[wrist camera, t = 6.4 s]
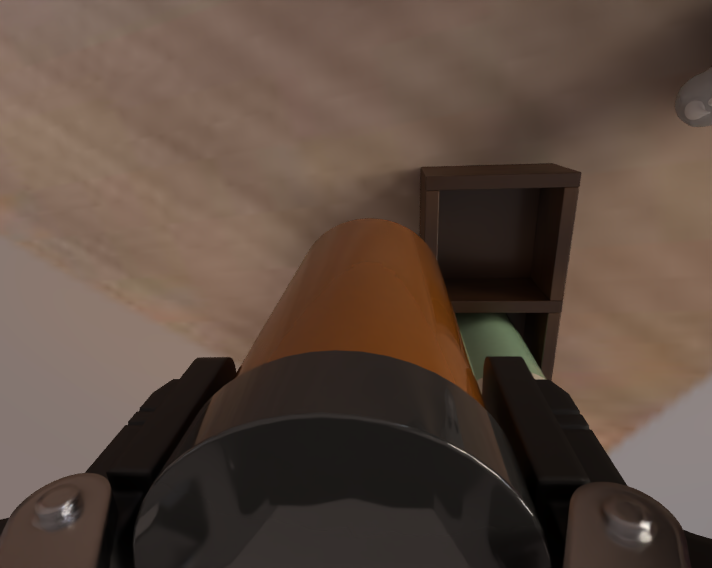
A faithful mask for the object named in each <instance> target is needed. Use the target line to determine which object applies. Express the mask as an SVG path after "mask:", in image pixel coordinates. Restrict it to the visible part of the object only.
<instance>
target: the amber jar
mask: <svg viewBox="0 0 712 568" xmlns="http://www.w3.org/2000/svg"><path fill="white" fill-rule="evenodd" d="M132 553H133V565H134V568H553V563H552V555H551V551H550V548H549V545H548V542H547V539H546V536H545V533H544V530H543V527H542V525H541V522H540V519H539V516H538V514H537V511H536V508H535V506H534V503H533V500H532V498H531V495H530V492H529V490H528V487H527V484H526V481H525V479H524V476H523V473H522V471H521V468H520V465H519V463H518V460H517V457H516V455H515V452H514V450H513V448H512V446H511V444H510V442H509V440H508V438H507V436H506V435H505V433H504V431H503V430H502V429H501V427H500V426H499V425H498V423H497V422H496V421H495V419H494V418H493V417H492V415H491V414H490V413H489V412H488V411H487V409H486V406H485V403H484V400H483V397H482V394H481V391H480V388H479V385H478V382H477V379H476V376H475V373H474V370H473V367H472V364H471V361H470V358H469V355H468V352H467V349H466V346H465V343H464V340H463V337H462V333H461V330H460V327H459V324H458V321H457V318H456V315H455V312H454V309H453V306H452V303H451V300H450V297H449V294H448V291H447V288H446V285H445V282H444V279H443V276H442V273H441V270H440V267H439V264H438V261H437V259H436V257H435V255H434V253H433V252H432V250H431V249H430V248H429V246H428V245H427V244H426V243H425V242H424V241H423V240H422V238H420V237H419V236H418V235H417V234H415V233H414V232H413V231H411V230H409V229H408V228H406V227H404V226H402V225H400V224H398V223H395V222H391V221H388V220H383V219H375V218H365V219H356V220H352V221H347V222H345V223H342V224H339V225H337V226H335V227H334V228H332V229H330V230H329V231H327V232H326V233H324V234H323V235H322V236H321V237H320V238H319V239H318V240H317V241H316V242H315V243H314V244H313V245H312V247H311V248H310V249H309V251H308V253H307V254H306V256H305V258H304V259H303V261H302V263H301V265H300V266H299V268H298V270H297V271H296V273H295V275H294V276H293V278H292V280H291V281H290V283H289V285H288V286H287V288H286V290H285V292H284V293H283V295H282V297H281V298H280V300H279V302H278V303H277V305H276V307H275V308H274V310H273V312H272V314H271V315H270V317H269V319H268V320H267V322H266V324H265V325H264V327H263V329H262V330H261V332H260V334H259V335H258V337H257V339H256V341H255V342H254V344H253V346H252V347H251V349H250V351H249V352H248V354H247V356H246V357H245V359H244V361H243V363H242V364H241V366H240V368H239V369H238V371H237V373H236V374H235V376H234V378H233V379H232V381H230V382H229V383H227V384H226V385H224V386H223V387H222V388H221V389H220V390H219V391H218V392H216V393H215V394H214V395H213V396H212V397H211V398H210V399H209V400H208V401H207V402H206V403H205V405H204V406H203V407H202V408H201V410H200V411H199V412H198V413H197V415H196V416H195V418H194V419H193V421H192V422H191V424H190V425H189V427H188V429H187V430H186V432H185V433H184V435H183V436H182V438H181V439H180V441H179V443H178V444H177V446H176V447H175V449H174V450H173V452H172V453H171V455H170V457H169V458H168V460H167V461H166V463H165V464H164V466H163V467H162V469H161V471H160V472H159V474H158V475H157V477H156V478H155V480H154V481H153V483H152V485H151V486H150V488H149V490H148V492H147V493H146V495H145V497H144V499H143V501H142V502H141V505H140V508H139V511H138V514H137V517H136V520H135V525H134V533H133V540H132Z"/></svg>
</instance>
